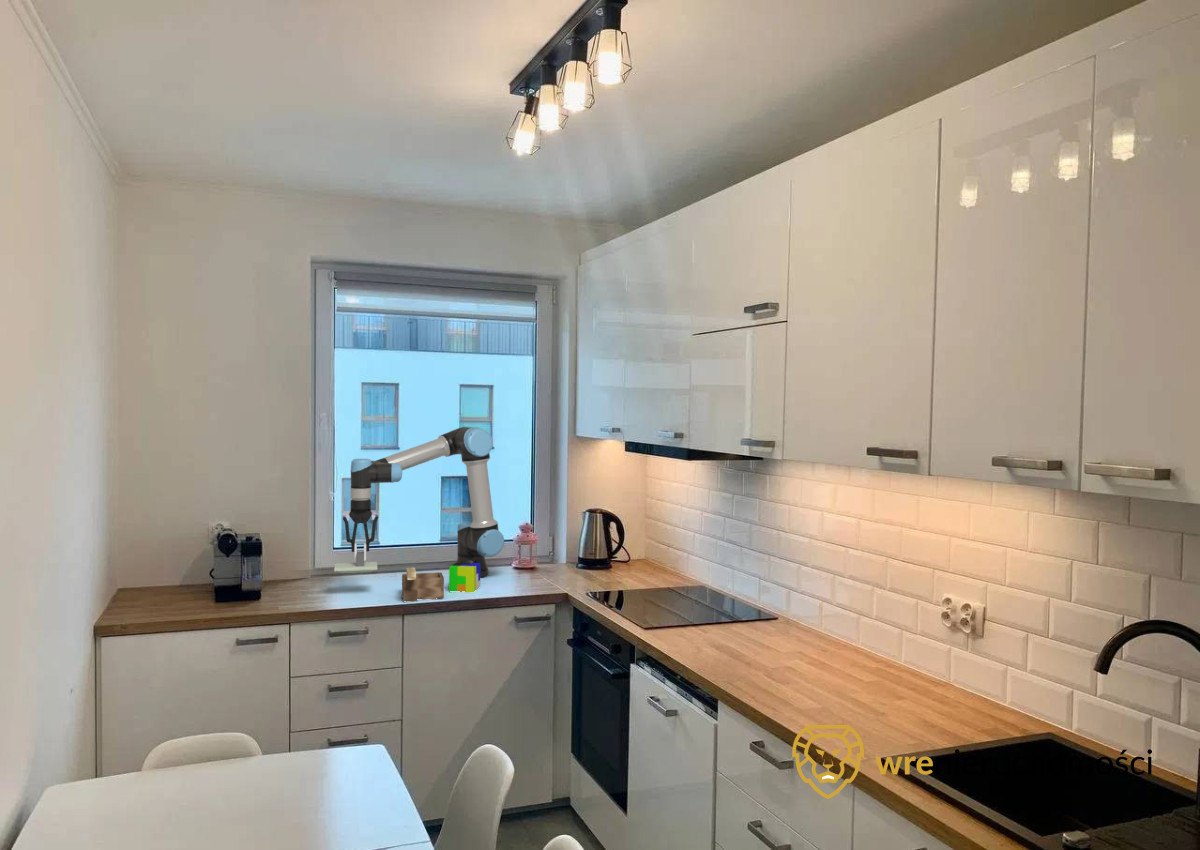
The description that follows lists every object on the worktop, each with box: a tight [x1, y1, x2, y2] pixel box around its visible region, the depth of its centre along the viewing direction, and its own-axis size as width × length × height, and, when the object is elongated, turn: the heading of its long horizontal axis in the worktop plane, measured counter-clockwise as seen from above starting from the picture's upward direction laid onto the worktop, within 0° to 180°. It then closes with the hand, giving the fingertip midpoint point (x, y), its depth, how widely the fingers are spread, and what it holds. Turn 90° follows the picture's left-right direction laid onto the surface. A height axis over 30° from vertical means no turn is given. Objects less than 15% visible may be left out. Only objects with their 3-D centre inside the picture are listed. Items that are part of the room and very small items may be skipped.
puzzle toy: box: [448, 562, 481, 592], centre depth 340 cm, size 10×10×10 cm
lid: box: [334, 551, 378, 574], centre depth 328 cm, size 16×10×7 cm
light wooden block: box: [405, 567, 417, 580], centre depth 316 cm, size 3×8×3 cm, turn 16°
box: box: [401, 572, 445, 602], centre depth 327 cm, size 15×13×9 cm
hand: (360, 560), depth 329 cm, fingers closed on lid, 3 cm apart
